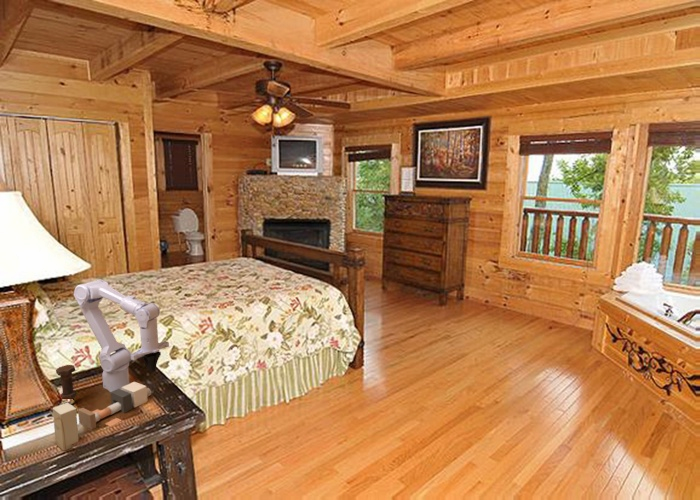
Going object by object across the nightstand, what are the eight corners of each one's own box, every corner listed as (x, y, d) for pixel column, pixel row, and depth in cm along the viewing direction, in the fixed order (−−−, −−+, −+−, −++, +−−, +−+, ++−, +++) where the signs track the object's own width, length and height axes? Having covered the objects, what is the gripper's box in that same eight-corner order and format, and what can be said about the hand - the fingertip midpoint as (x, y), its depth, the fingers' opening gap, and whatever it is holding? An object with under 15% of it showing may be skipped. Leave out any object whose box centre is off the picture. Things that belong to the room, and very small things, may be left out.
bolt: (68, 412, 144) (64, 372, 142) (56, 410, 145) (52, 370, 143) (82, 403, 150) (78, 365, 148) (70, 401, 151) (66, 363, 149)
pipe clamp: (65, 425, 137) (63, 409, 136) (137, 391, 159) (136, 376, 158) (93, 440, 129) (92, 422, 128) (165, 402, 152) (164, 387, 151)
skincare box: (55, 444, 127) (51, 407, 125) (71, 436, 131) (67, 401, 129) (64, 451, 123) (59, 414, 121) (80, 444, 127) (76, 408, 125)
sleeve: (122, 402, 149) (121, 387, 148) (135, 396, 153) (134, 381, 152) (134, 407, 146) (133, 392, 145) (147, 401, 150) (146, 386, 149)
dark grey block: (111, 407, 146) (110, 392, 145) (120, 403, 148) (118, 388, 147) (124, 413, 142) (122, 397, 141) (132, 409, 145) (130, 393, 144)
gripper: (138, 345, 144) (141, 381, 146) (173, 332, 157) (175, 366, 159) (125, 341, 147) (128, 377, 150) (161, 329, 160) (163, 362, 162)
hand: (151, 371), depth 155 cm, fingers closed
